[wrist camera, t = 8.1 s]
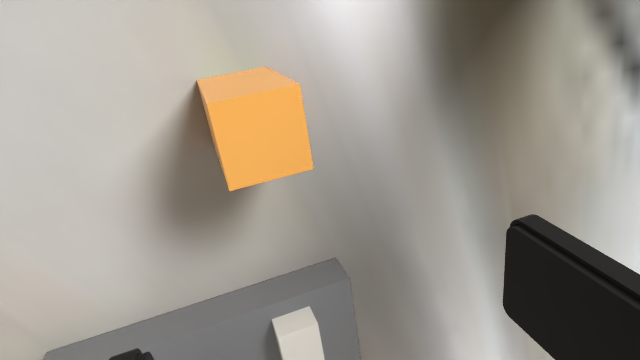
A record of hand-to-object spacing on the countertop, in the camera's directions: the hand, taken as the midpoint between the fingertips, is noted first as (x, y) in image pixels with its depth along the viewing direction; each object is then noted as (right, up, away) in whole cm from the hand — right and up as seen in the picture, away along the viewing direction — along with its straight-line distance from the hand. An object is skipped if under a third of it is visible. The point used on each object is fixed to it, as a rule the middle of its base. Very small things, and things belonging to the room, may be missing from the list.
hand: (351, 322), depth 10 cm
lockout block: (-6, +8, +17) cm, 20 cm away
